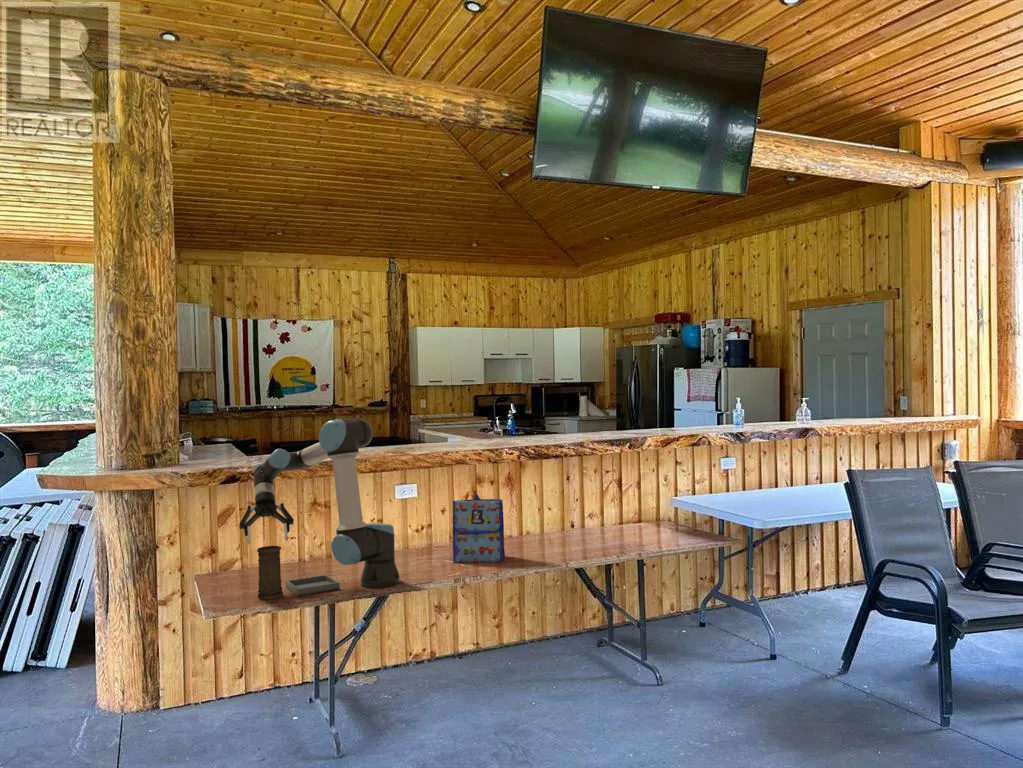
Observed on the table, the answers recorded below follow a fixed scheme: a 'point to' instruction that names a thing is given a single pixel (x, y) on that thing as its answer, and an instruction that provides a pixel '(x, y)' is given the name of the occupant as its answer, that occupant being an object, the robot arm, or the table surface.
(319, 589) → the tray
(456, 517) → the lunch bag
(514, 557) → the table surface
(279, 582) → the container
